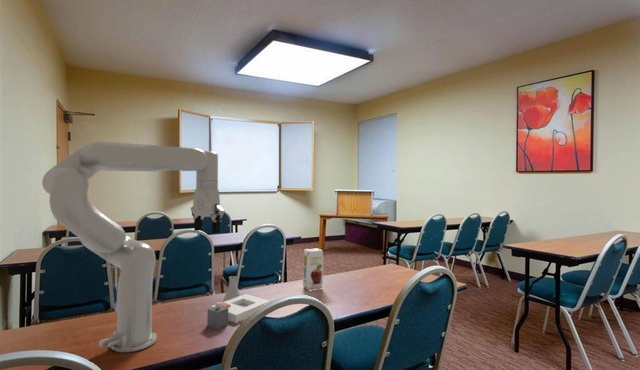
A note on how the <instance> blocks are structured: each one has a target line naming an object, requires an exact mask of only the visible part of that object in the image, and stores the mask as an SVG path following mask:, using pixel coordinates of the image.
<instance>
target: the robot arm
mask: <svg viewBox="0 0 640 370" xmlns="http://www.w3.org/2000/svg"><path fill="white" fill-rule="evenodd" d="M100 171H107V172H109V171H112V172H160V171H181V172H196V173H195V175H196V177H195V178H196V180H195V185H196V186H195V188H194V193H193V203H192V206H191V207H190V212H191V215H192V217H193V222H194V226H193V229H194V231H195V232H198V231H203V217H204V218H205V217H207V218H208V217H209V218H211V220H212V222H211V233H212V234H217V233H221V222H222V219H223V217H224V214H225V212H226V211H225V210H224V209H223V208H222V207H221V200H220V199H221V198H220V191H219V181H218V180H219V177H218V176H219V155H218V153H217V152H216V151H211V150H202V149H200V148H194V147H183V146H181V147H180V146H167V145H166V146H164V145H155V144H146V143H145V144H144V143H143V144H142V143H132V142H131V143H130V142H129V143H127V142H117V141H107V140H106V141H104V140H103V141H102V140H101V141H95V142H93V141H92V142H89V143H85V144H84V145H82V146H81V147H80V148H78V149H77V150H75V151H74V152H73V153H71V154H69V155H68V156H67V157H66V158H64V159H62V160H61V161H60V162H58V163H57V164H56V165H54V166H53V167H51V168H50V169H49V170H48V171H46V172H45V173H44V175H43V177H42V181H41V182H42V188H43V189H44V191H45V192H46V193H48V194H49V207H50V211H51V213H52V215H53V217H54V218H55V220H56V221H57V222H58V223H59V224H60V225H61V226H62V227H64V228H66V229H67V230H68V231H69V232H71V233H72V234H73V235H74V236H76V237H78V238H79V241H80V243H81V244H82V245H83V246H84V247H85V248H87V249H88V250H89V251H91V252H93V253H94V254H95V255H98V257H100V258H101V259H103V260H105V261H106V262H108V263H109V264H111V265H112V266H115V267H116V268H119V269H120V272H119V273H120V274H119V278H118V282H117V304H116V305H117V307H116V308H117V309H116V311H117V316H116V324H117V325H116V330H115V331H113V333H112V335H110V337H106V338H103V339H100V340H99V341H98V346H99V347H100V348H102V347H106V346H108V348H110V349H111V350H113V351H114V352H118V353H132V352H137V351H141V350H144V349H146V348H149V347H150V346H152V345H153V344H154V343H156V342H157V340H158V334H157V333H156V331H155V332H154V331H152V330H153V329H152V323H153V322H152V321H153V277H154V271H155V265H156V252H155V251H154V249H153V248H152V246H151V245H149V244H147V243H146V242H143V241H140V240H136V239H133V238H131V237H130V236H128V235H127V234H126V231H125V230H124V229H123V227H122V226H121V225H120V224H118V223H117V222H115V221H114V220H112V219H111V218H110V217H108V216H107V215H106V214H104V213H103V212H101V211H100V210H99V209H98V208H97V207H95V206H94V205H93V204H92V203H91V202H90V200H89V197H88V196H89V195H88V190H89V186H90V184H89V183H90V179H91V178H93V176H95V175H96V174H97V173H98V172H100Z"/></svg>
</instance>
